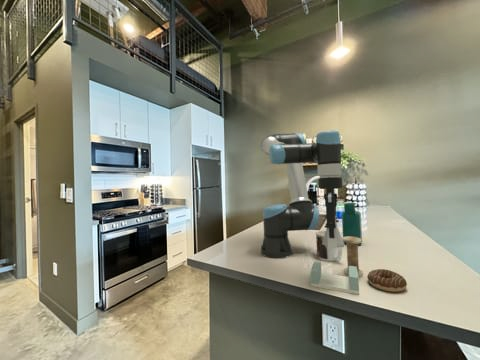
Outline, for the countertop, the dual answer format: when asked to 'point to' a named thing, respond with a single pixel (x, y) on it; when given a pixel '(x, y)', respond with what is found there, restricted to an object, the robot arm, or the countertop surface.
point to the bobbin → (352, 253)
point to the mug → (326, 249)
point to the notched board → (335, 280)
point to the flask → (339, 238)
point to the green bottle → (351, 222)
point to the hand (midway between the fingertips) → (333, 244)
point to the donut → (387, 280)
